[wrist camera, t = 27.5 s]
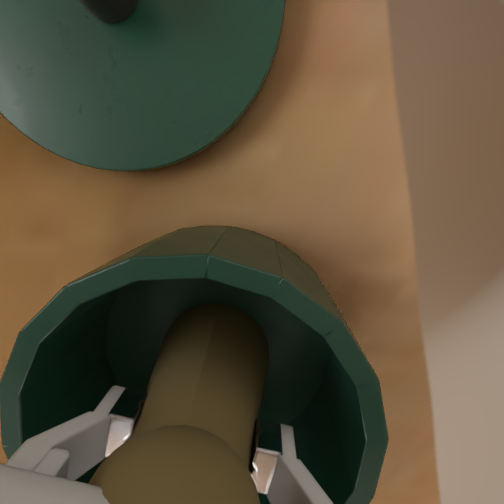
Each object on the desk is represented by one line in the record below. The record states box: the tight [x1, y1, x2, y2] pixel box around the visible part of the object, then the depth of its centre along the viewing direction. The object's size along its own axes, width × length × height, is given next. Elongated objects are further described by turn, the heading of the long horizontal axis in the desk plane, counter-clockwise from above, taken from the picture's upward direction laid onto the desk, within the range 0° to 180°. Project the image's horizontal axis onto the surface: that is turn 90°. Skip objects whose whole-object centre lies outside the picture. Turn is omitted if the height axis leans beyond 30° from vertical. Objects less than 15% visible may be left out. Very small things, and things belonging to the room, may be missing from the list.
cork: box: [88, 303, 269, 504], centre depth 13 cm, size 6×6×11 cm
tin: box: [0, 226, 388, 504], centre depth 15 cm, size 14×14×7 cm
